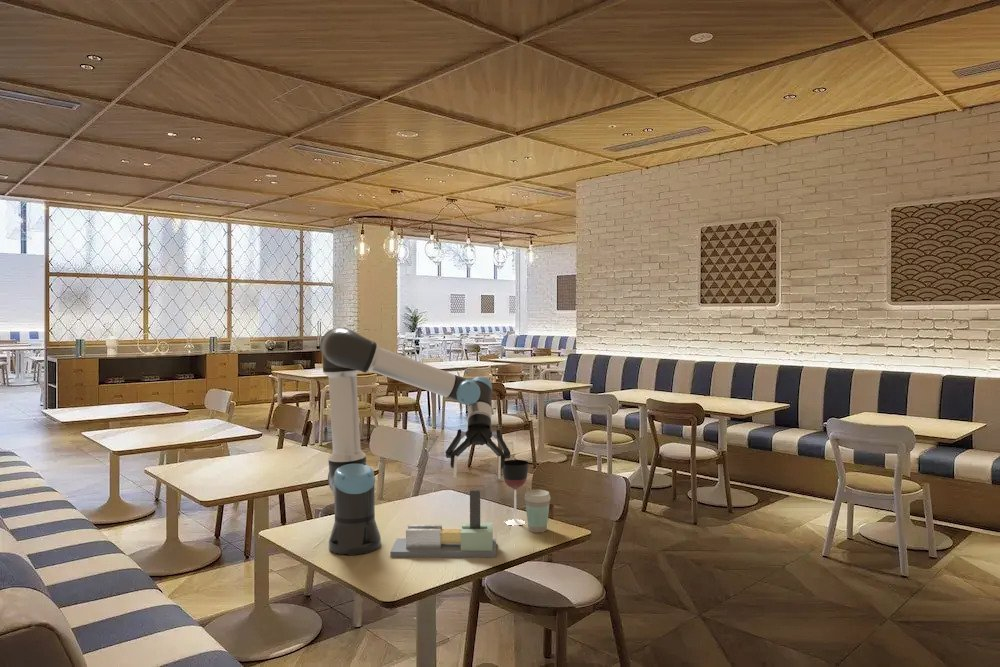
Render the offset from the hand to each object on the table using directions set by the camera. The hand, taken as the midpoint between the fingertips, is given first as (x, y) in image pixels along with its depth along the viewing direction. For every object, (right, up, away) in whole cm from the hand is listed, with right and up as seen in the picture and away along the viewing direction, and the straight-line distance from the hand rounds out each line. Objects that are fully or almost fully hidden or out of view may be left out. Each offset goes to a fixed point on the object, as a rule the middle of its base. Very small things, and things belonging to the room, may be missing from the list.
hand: (476, 476), depth 203 cm
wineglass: (+12, -19, +17) cm, 28 cm away
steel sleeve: (-15, -18, -8) cm, 25 cm away
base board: (-9, -20, -8) cm, 23 cm away
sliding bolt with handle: (-4, -17, -8) cm, 20 cm away
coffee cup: (+19, -19, +10) cm, 29 cm away
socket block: (0, -18, -8) cm, 20 cm away
